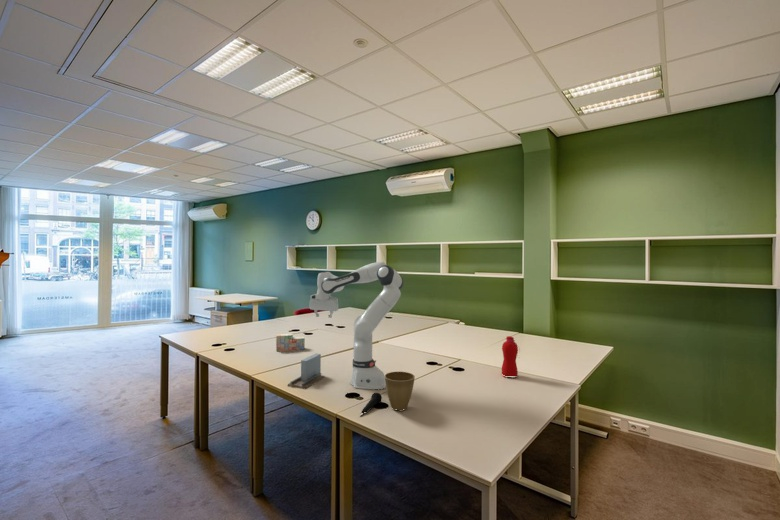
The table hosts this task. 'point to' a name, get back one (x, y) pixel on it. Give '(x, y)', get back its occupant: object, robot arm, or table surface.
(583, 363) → the table surface
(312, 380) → the track board
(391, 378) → the plant pot
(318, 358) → the tall grey rectangular block
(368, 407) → the microphone
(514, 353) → the water bottle
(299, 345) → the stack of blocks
